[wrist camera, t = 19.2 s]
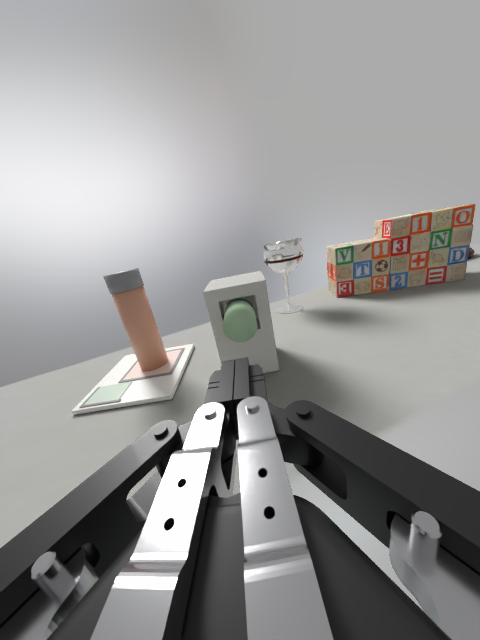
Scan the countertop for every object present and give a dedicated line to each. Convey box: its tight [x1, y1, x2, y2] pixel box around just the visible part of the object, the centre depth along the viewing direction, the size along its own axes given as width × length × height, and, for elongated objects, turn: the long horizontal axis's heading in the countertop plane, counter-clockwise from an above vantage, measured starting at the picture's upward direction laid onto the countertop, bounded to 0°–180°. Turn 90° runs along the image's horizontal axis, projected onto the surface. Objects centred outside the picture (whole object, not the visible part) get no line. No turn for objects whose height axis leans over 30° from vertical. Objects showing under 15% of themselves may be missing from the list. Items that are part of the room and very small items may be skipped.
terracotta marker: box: [104, 268, 168, 371], centre depth 29 cm, size 4×4×12 cm
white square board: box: [72, 344, 194, 415], centre depth 30 cm, size 11×12×1 cm
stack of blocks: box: [327, 204, 475, 297], centre depth 42 cm, size 21×6×12 cm, turn 84°
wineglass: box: [262, 238, 303, 313], centre depth 41 cm, size 7×7×12 cm
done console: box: [203, 271, 279, 373], centre depth 26 cm, size 6×6×10 cm
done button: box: [223, 298, 257, 342], centre depth 22 cm, size 3×4×3 cm
